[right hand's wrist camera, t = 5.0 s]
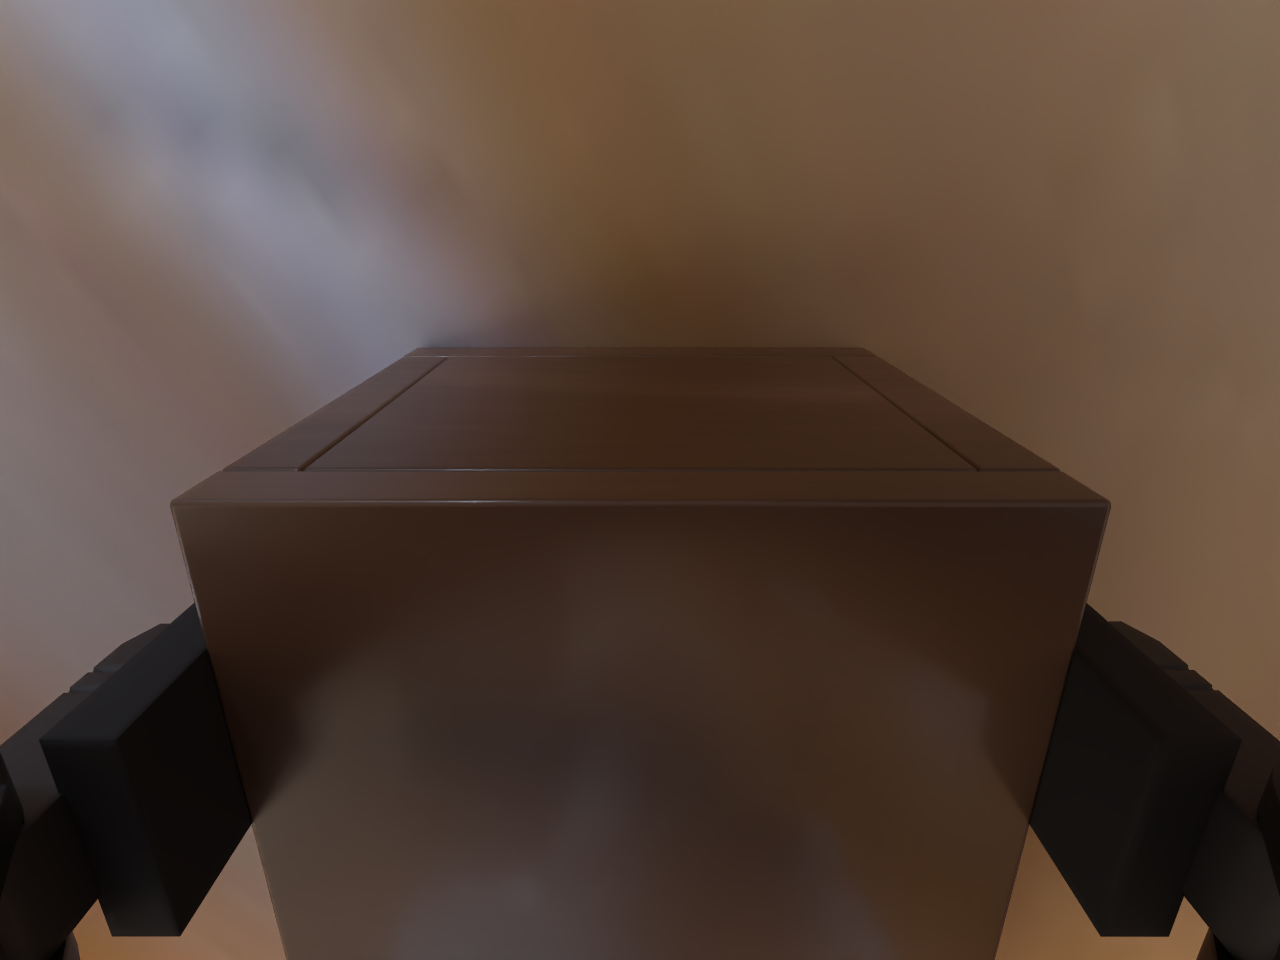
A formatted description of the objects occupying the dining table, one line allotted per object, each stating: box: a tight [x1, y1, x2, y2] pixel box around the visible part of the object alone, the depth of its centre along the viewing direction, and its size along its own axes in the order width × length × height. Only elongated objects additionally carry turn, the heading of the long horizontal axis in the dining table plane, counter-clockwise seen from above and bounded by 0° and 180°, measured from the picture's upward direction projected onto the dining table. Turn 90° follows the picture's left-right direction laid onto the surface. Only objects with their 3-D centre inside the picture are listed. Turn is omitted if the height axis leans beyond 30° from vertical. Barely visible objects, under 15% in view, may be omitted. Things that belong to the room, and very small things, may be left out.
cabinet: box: [170, 348, 1111, 960], centre depth 15 cm, size 20×10×9 cm, turn 0°
